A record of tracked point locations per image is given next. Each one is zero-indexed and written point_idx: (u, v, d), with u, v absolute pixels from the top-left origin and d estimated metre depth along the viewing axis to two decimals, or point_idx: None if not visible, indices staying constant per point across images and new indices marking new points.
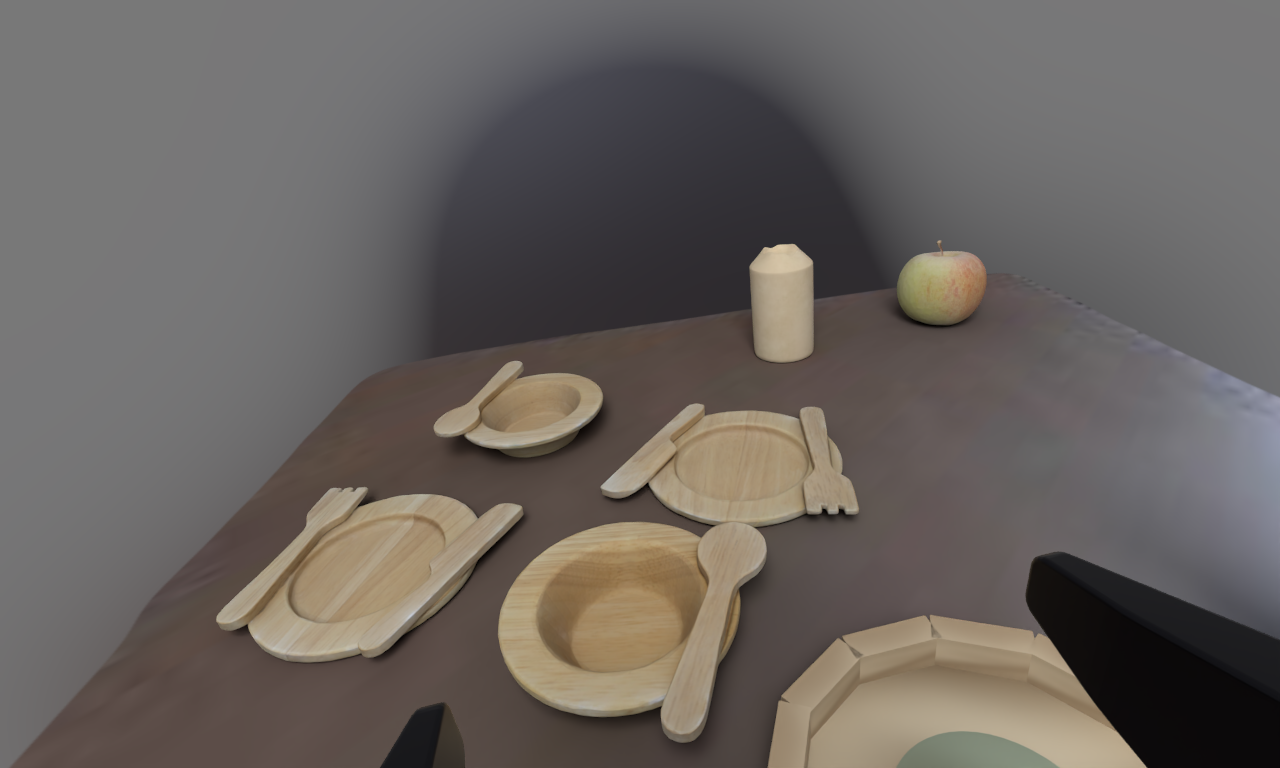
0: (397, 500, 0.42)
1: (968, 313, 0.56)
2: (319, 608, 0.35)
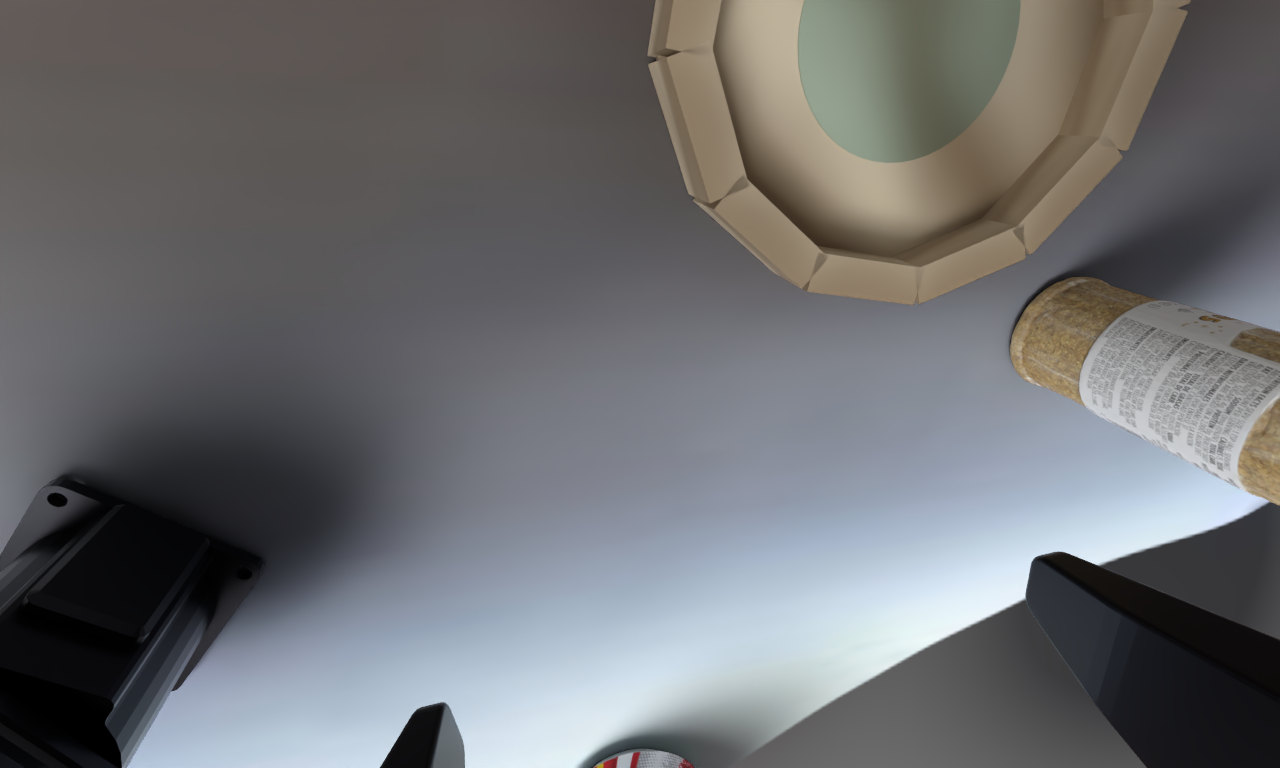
0: None
1: None
2: None
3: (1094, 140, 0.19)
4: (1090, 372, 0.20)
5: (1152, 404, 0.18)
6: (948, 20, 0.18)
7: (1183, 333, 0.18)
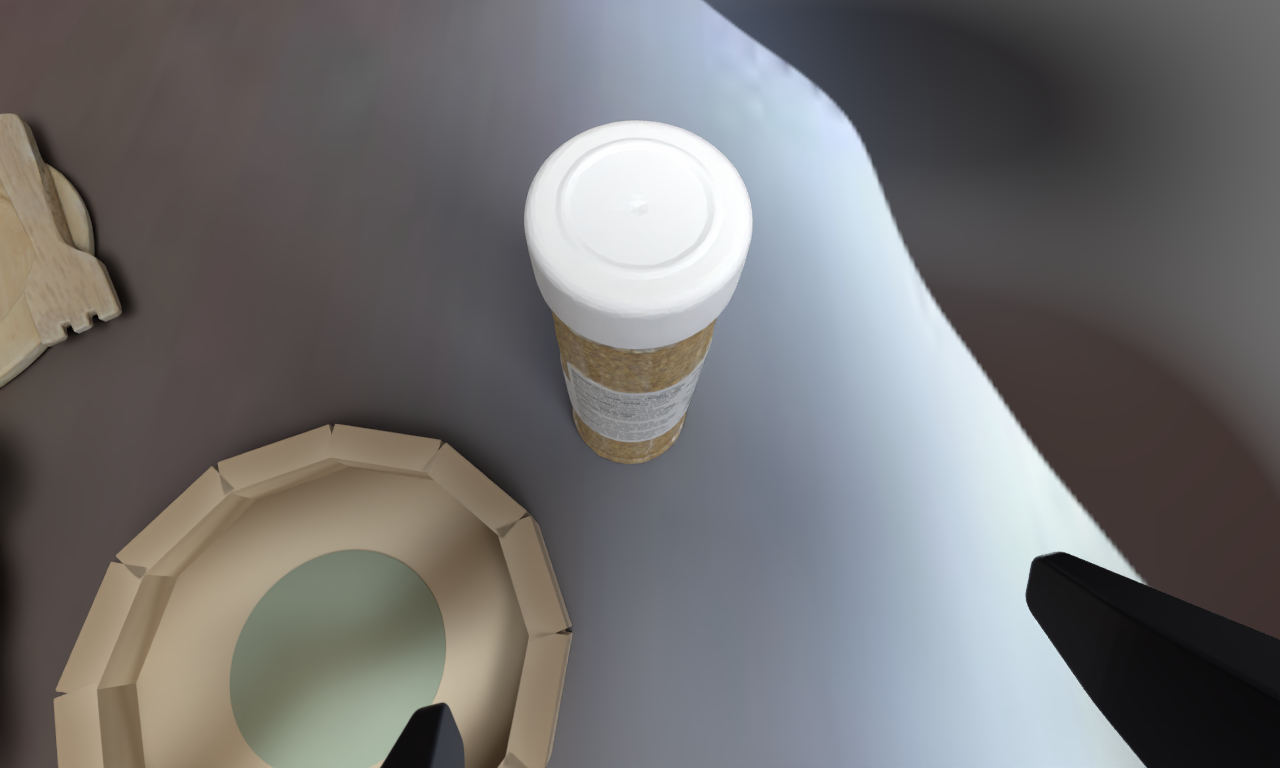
0: None
1: None
2: None
3: (429, 474, 0.21)
4: (634, 440, 0.20)
5: (641, 420, 0.18)
6: (333, 620, 0.21)
7: (574, 398, 0.19)
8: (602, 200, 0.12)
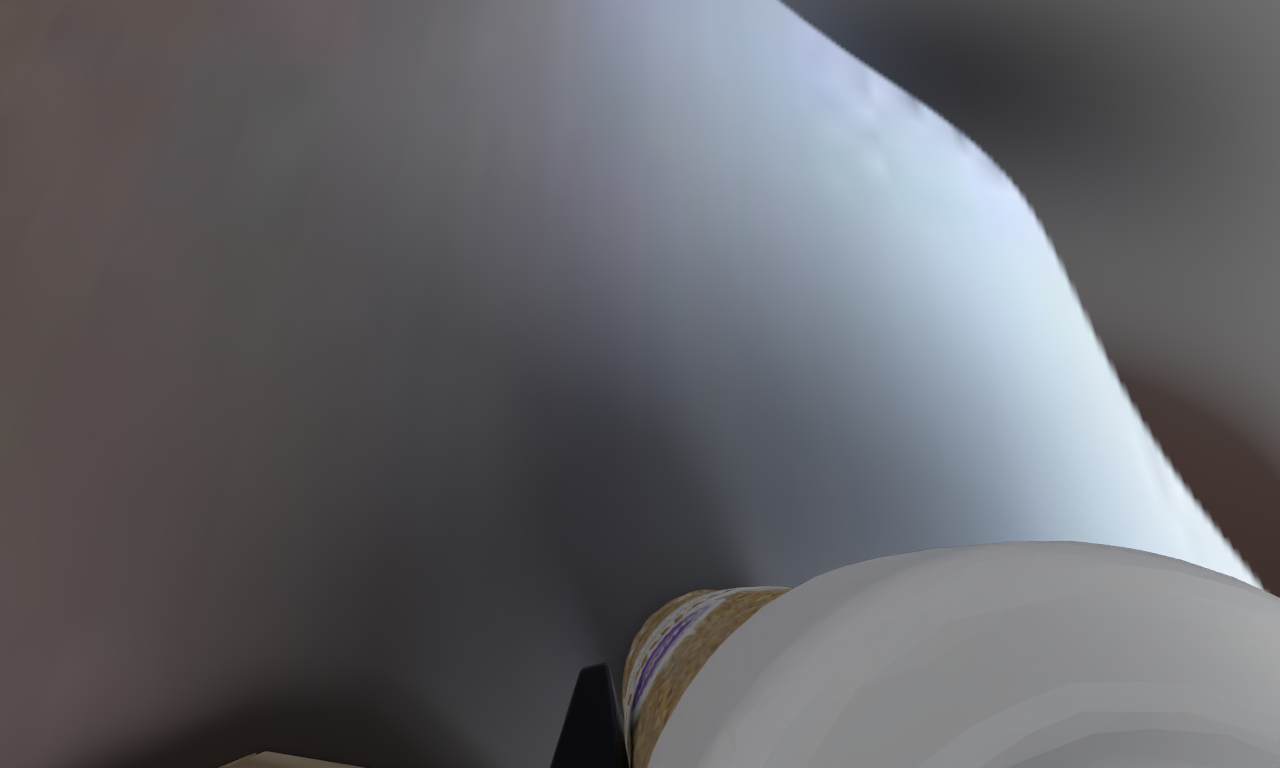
0: None
1: None
2: None
3: None
4: None
5: None
6: None
7: None
8: None
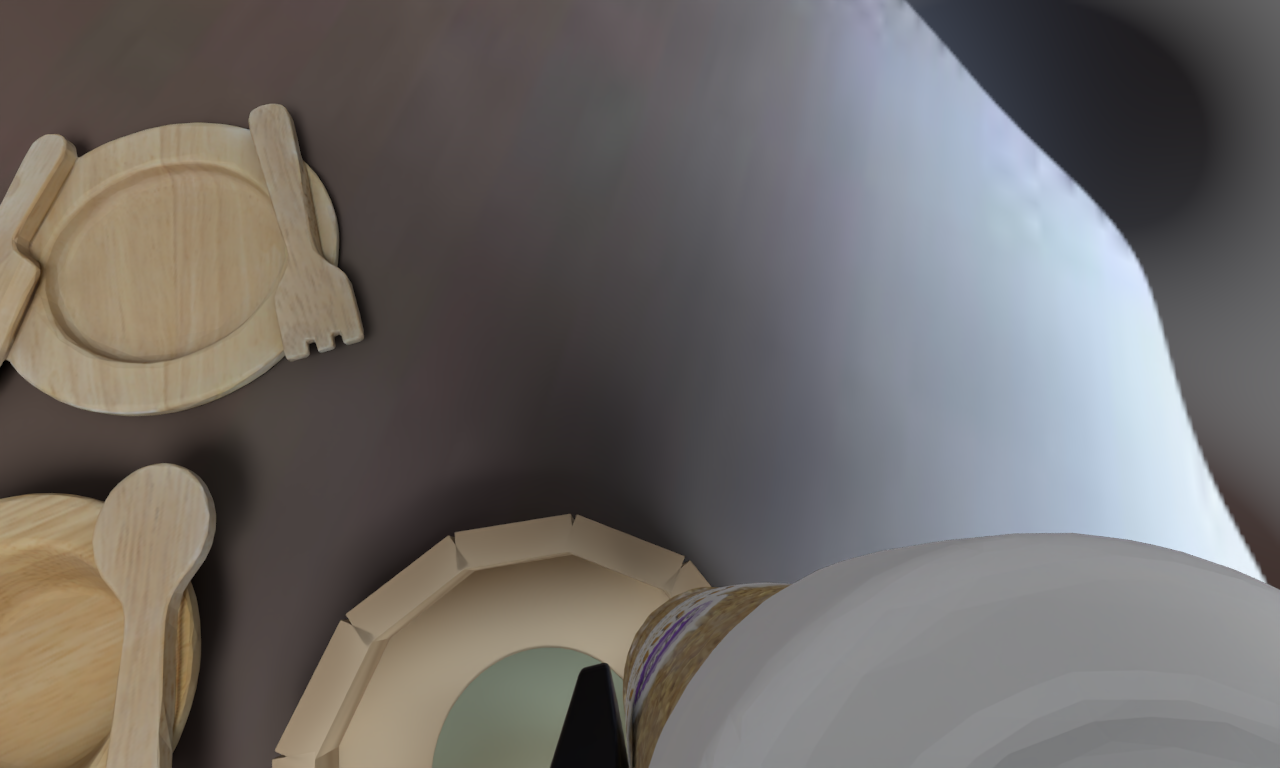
0: None
1: None
2: None
3: (668, 592, 0.20)
4: None
5: None
6: (540, 723, 0.20)
7: None
8: None
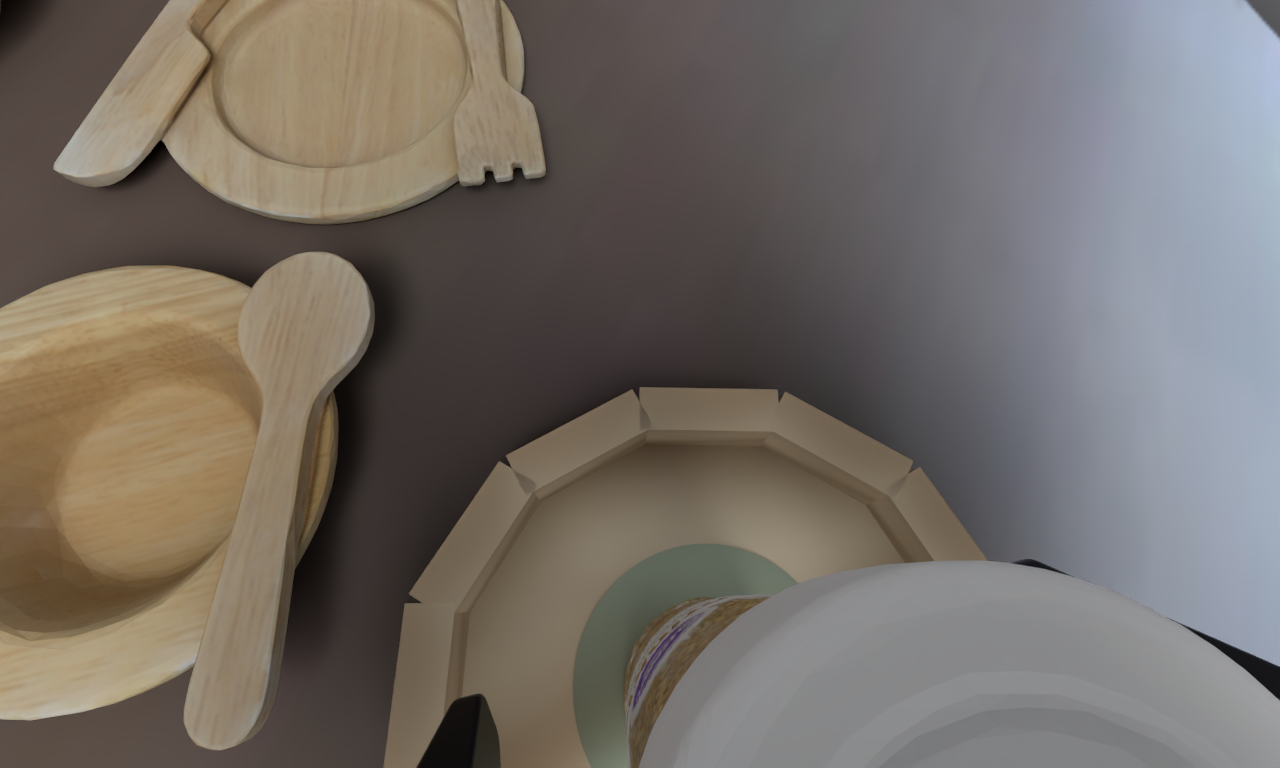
0: None
1: None
2: None
3: (890, 499, 0.16)
4: None
5: None
6: None
7: None
8: None
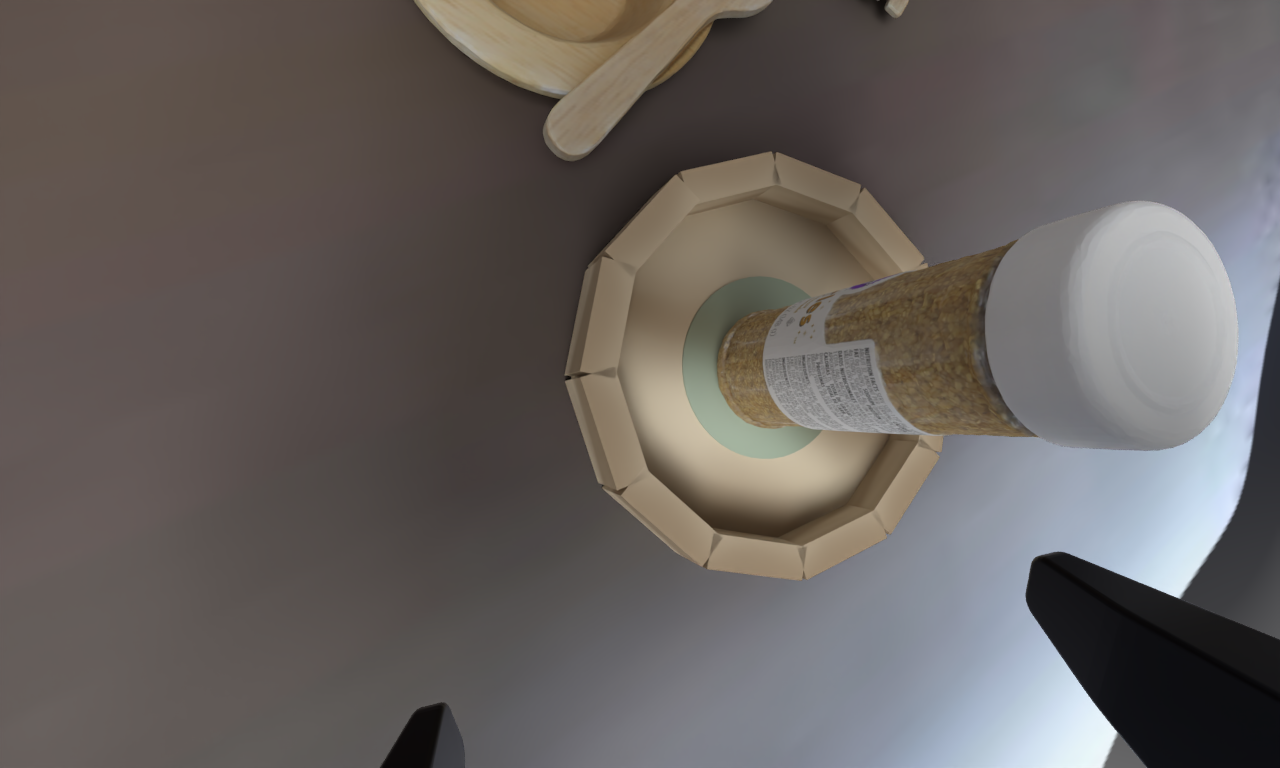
0: None
1: None
2: None
3: None
4: (792, 416, 0.19)
5: (840, 420, 0.17)
6: None
7: (798, 351, 0.17)
8: (1149, 290, 0.11)
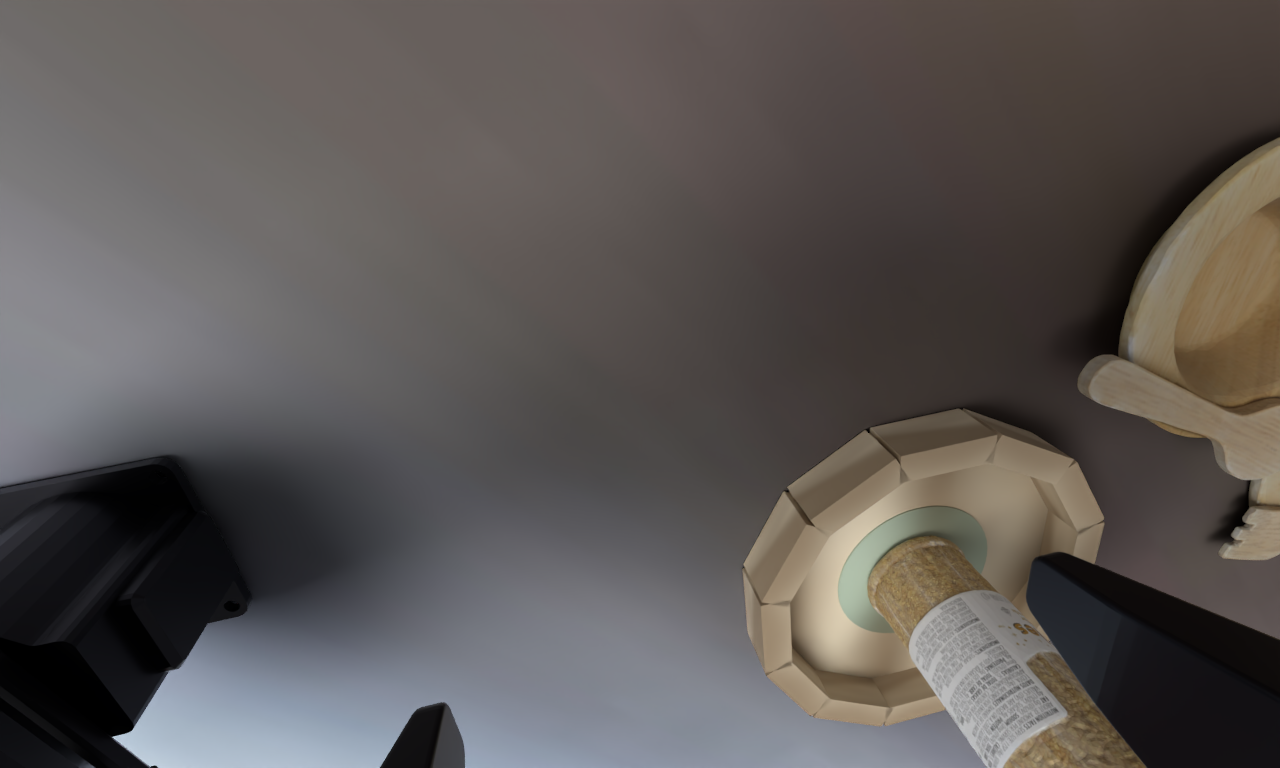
0: None
1: None
2: None
3: None
4: (920, 634, 0.23)
5: (956, 687, 0.21)
6: None
7: (997, 634, 0.21)
8: None
